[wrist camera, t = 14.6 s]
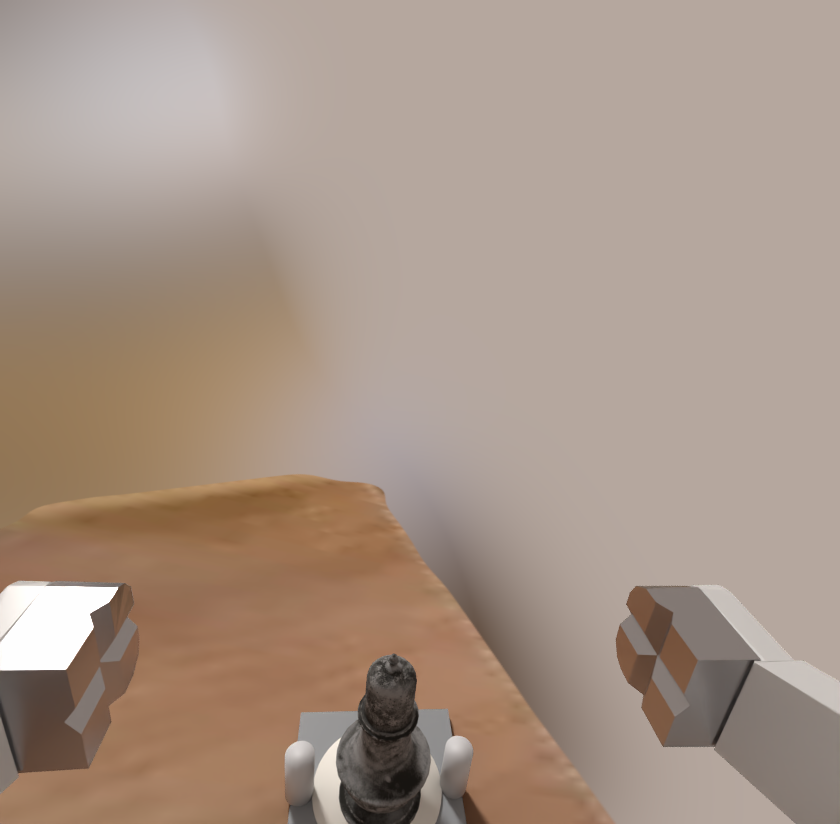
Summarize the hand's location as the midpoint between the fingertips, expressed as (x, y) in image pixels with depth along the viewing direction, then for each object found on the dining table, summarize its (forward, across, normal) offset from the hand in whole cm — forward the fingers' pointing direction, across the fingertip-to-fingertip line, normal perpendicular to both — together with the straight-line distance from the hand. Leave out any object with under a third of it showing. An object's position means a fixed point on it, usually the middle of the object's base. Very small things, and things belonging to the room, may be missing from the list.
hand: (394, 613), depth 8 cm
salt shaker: (+15, -2, +29) cm, 33 cm away
